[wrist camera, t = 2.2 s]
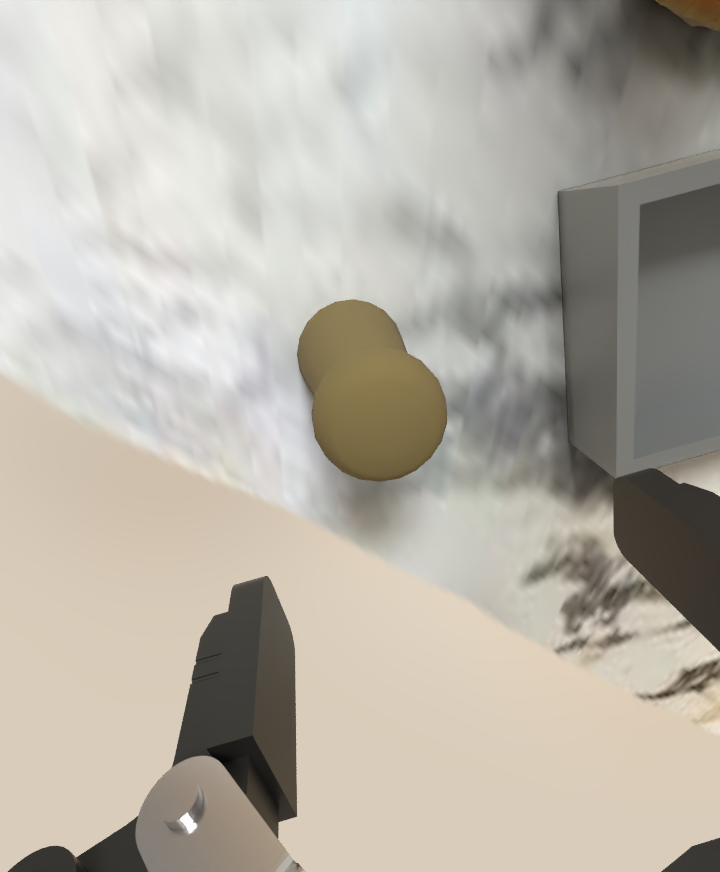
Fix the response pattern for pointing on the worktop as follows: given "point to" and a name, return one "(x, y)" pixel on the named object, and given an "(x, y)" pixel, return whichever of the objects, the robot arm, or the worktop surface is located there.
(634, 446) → the bin
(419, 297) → the worktop surface
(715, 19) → the pastry
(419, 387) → the cork
